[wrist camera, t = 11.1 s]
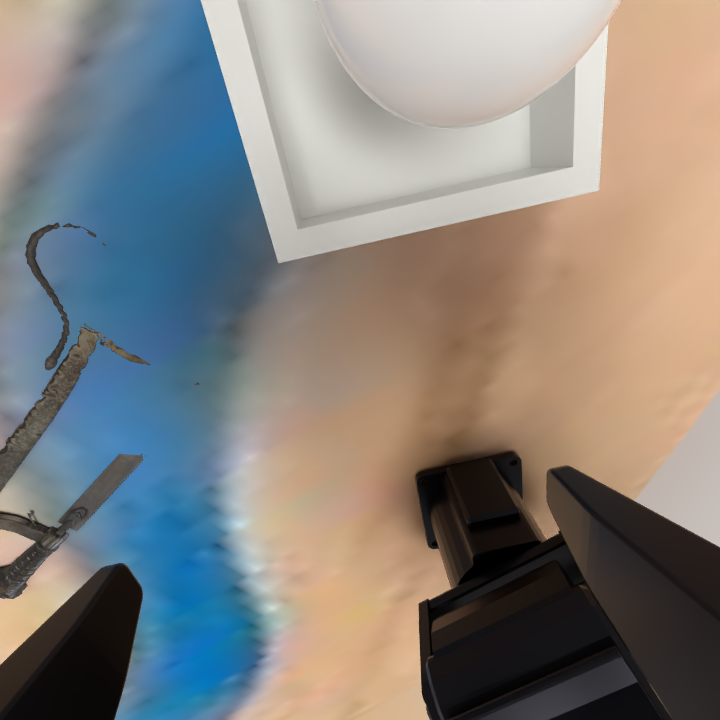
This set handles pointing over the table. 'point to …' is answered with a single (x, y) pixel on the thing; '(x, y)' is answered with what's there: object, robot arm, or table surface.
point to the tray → (386, 139)
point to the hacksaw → (35, 423)
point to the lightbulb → (460, 52)
